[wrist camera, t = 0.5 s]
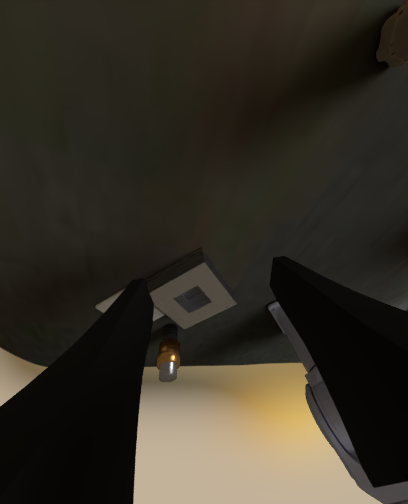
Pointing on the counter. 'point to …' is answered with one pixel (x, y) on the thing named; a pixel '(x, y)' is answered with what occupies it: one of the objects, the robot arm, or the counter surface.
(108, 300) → the mat
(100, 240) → the counter surface
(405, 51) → the handle
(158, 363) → the amber medicine bottle
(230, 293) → the block
